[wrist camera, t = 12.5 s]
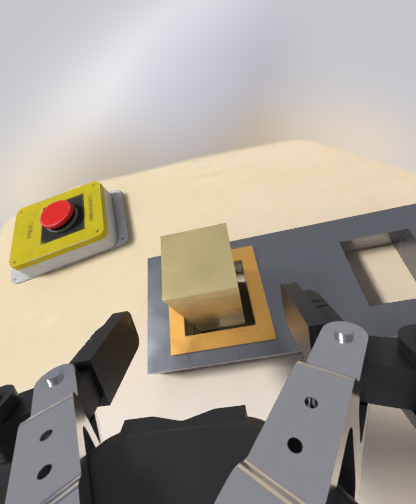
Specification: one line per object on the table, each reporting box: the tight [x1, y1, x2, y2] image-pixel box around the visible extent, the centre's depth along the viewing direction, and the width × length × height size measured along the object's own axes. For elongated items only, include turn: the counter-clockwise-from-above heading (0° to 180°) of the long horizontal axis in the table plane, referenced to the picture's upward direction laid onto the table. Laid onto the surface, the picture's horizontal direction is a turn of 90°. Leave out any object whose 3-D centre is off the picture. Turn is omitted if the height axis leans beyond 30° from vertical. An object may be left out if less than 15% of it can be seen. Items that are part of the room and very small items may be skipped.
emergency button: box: [9, 181, 129, 284], centre depth 28 cm, size 9×4×15 cm
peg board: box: [148, 204, 416, 374], centre depth 19 cm, size 26×10×3 cm, turn 97°
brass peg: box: [161, 223, 245, 331], centre depth 17 cm, size 4×4×10 cm
